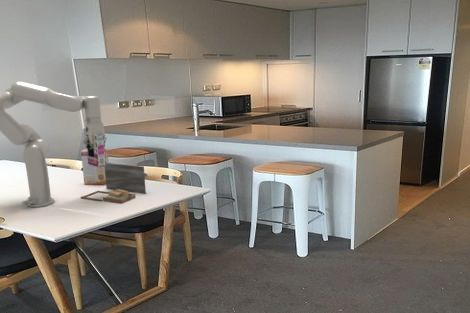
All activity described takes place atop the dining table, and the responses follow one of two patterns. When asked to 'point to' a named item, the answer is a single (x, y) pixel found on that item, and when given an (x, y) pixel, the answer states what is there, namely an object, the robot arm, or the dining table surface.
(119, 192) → the offcut top
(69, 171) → the dining table surface
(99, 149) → the candy bar box
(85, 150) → the cracker box
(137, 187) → the rack
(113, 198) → the offcut middle
